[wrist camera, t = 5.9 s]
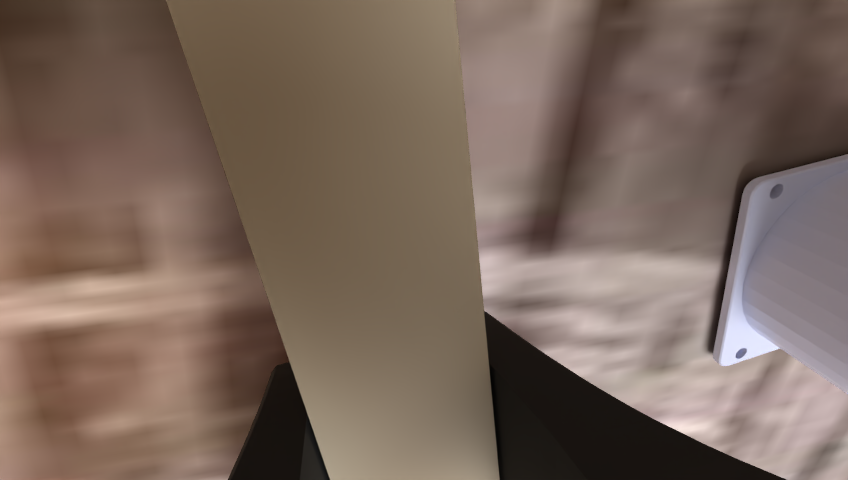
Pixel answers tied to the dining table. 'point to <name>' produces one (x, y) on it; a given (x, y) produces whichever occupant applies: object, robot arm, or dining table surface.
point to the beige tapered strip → (358, 219)
